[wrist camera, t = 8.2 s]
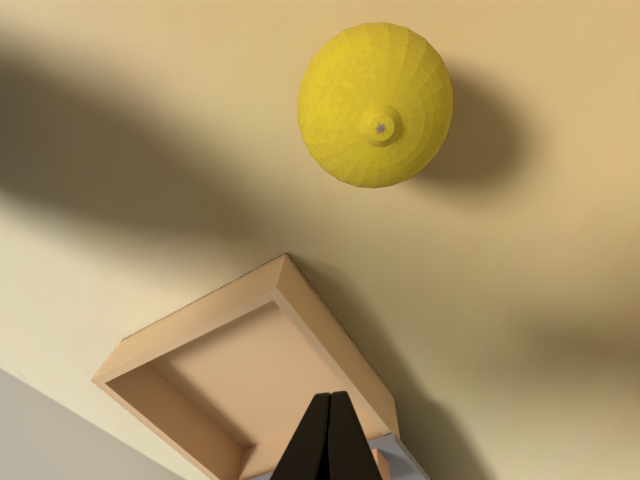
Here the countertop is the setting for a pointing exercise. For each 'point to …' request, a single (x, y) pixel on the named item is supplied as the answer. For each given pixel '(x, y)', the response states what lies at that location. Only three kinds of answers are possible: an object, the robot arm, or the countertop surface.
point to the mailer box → (243, 373)
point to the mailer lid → (389, 460)
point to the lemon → (375, 105)
